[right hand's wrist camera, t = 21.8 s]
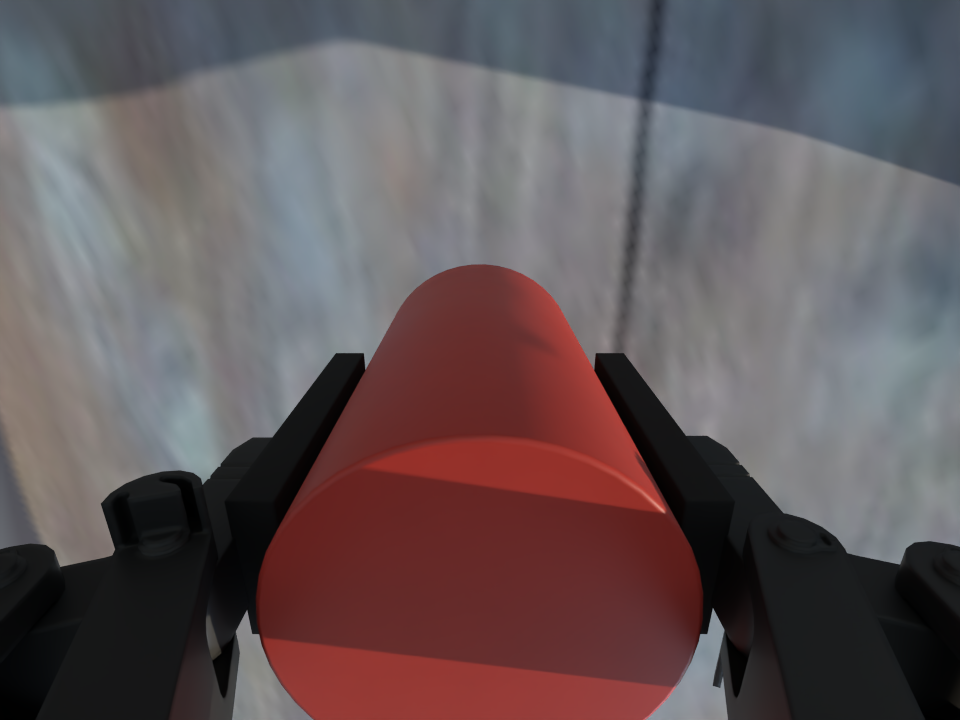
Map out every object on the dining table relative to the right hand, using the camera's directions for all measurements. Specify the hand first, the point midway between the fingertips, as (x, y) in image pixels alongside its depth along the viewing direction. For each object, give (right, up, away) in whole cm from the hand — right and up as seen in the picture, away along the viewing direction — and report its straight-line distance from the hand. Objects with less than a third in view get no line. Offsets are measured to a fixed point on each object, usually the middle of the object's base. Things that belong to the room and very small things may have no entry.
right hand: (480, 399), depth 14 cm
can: (0, +1, +3) cm, 4 cm away
